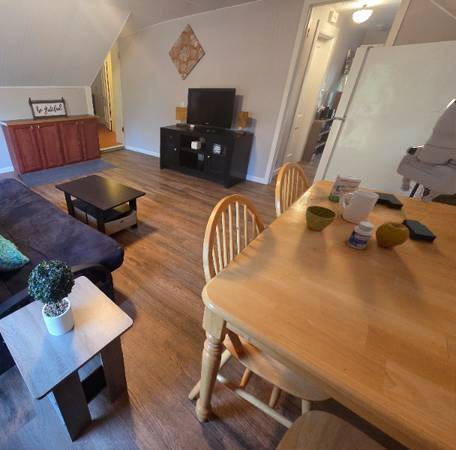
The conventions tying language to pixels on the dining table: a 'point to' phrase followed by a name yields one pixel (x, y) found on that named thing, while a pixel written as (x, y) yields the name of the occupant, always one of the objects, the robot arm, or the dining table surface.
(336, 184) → the ink box
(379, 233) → the apple
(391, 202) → the big pad
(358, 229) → the pill bottle
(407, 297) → the dining table surface
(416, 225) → the small pad
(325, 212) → the flower pot
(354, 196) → the mug
